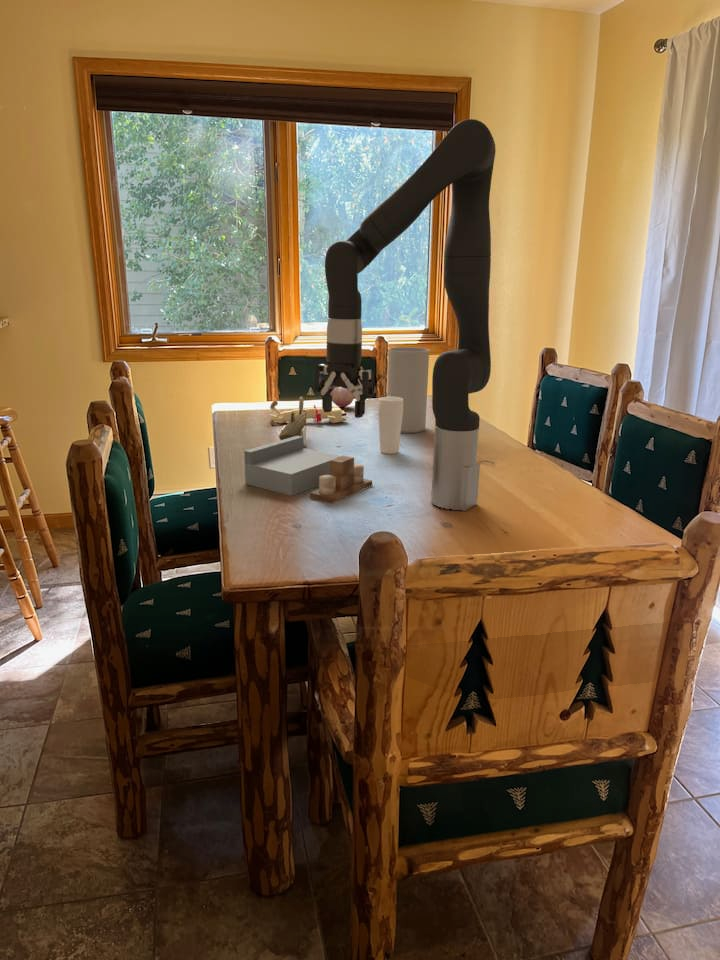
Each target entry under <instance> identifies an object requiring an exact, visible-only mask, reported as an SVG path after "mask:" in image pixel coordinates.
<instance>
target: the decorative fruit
mask: <svg viewBox="0 0 720 960" xmlns="http://www.w3.org/2000/svg"><path fill="white" fill-rule="evenodd" d="M330 395H332V404H333V403H334V405H336V406H337V407H339V408H340V407H344V408H345V407H348V406H349V405H351V404H352V403H353V401H354V399H355V397H354V395H353V393H351V392H350V391H349V389H348V388H343V387H335V388H334V390H333V391H332V393H331V394H330Z"/></svg>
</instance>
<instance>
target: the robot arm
mask: <svg viewBox="0 0 720 960" xmlns="http://www.w3.org/2000/svg"><path fill="white" fill-rule="evenodd" d="M496 150H497V149H496V143H495V138H494V136H493V135H492V132H491V130H490V128H488V125H486V124H485V123H483V122H482V121H480V120H478V119H474V118H470V119H469V118H468V119H464V120H461V121H459V122H458V123H456V124H455V125H453V126H452V128H451V129H450V130H449V131H448V132H447V134H446V135H444V137H443V138H442V140H441V141H440V142H439V143H438V145H437V146H436V147H435V149H434V150H433V151H432V152H431V153H430V155H429V156H428V157H427V158H426V159H425V160H424V161H423V163H422V164H421V165H420V166H419V167H418V168H417V169H416V170H415V172H413V173H412V174H411V176H409V177H408V178H407V179H406V180H405V181H404V182H403V183H402V184H401V185H400V186H399V187H398V188H397V189H395V190H394V191H393V192H392V193H391V194H390V195H389V196H387V198H385V199H384V200H383V201H382V202H381V203H380V204H379V205H378V206H376V208H374V209H373V210H372V211H371V212H370V213H369V214H368V215H367V216H366V217H364V219H363V220H362V222H361V223H360V226H359V228H358V229H357V230H356V231H355V232H353V234H352V235H351V236H349V237H348V238H347V239H346V240H338V241H335V242H333V243H331V245H329V247H328V249H327V250H326V252H325V259H324V271H325V272H324V273H325V280H326V288H327V293H328V303H327V304H328V305H327V306H328V308H327V310H328V311H327V313H328V315H327V317H328V318H327V326H326V362H327V364H326V363H321V364H320V363H319V364H317V365H315V371H314V372H315V373H314V391H315V392H318V393H319V394H321V408H323V409H324V412H331V411H332V408H333V402H332V395H330V394H331V393H332V391H333V390H334V388H335V387H343V388H348V389H349V391H350V392H351V393H353V395H354V399H355V402H354V418H356V419H361V418H362V417H364V415H365V413H366V400H368V399H372V398H373V397H374V371H373V370H372V369H367V370H362V368H361V362H362V353H363V352H362V351H363V346H362V345H363V343H362V342H363V326H362V325H363V324H362V311H363V310H362V306H363V305H362V304H363V303H362V295H361V292H360V291H359V283H358V282H359V281H358V277H359V275H358V274H360V273H361V272H363V271H364V270H365V269H366V268H367V267H368V266H369V265H370V264H371V263H372V262H373V261H374V260H375V258H376V257H378V255H379V254H380V253H381V252H382V250H384V249H385V248H386V247H388V246H389V245H391V243H392V242H394V241H396V239H397V238H398V237H400V236H401V235H402V234H403V233H404V232H405V231H406V230H408V229H409V227H410V226H411V225H413V224H414V223H415V221H416V220H418V218H419V217H420V215H421V214H422V213H423V212H424V211H425V210H426V209H427V207H428V206H429V205H430V204H431V202H432V201H433V200H435V198H436V197H437V196H438V195H440V194H441V193H442V192H443V191H444V190H445V189H447V188H448V187H449V186H451V195H452V196H451V199H452V201H451V210H450V212H451V213H450V217H449V222H448V227H447V231H446V232H447V233H446V236H445V237H446V238H445V243H444V251H443V253H444V254H443V284H444V290H445V292H446V295H447V297H448V300H449V303H450V304H451V307H452V310H453V313H454V315H455V318H456V321H457V328H458V329H457V330H458V331H457V332H458V339H457V340H458V342H457V349H455V350H447V351H445V352H444V351H443V352H442V353H441V354H440V355H438V357H437V358H436V359H435V362H434V365H433V368H432V382H431V383H432V385H431V387H432V388H431V389H432V391H431V393H432V394H431V401H432V403H431V404H432V406H431V407H432V412H433V416H434V419H435V421H434V426H435V427H434V439H433V440H434V441H433V457H432V458H433V459H432V474H431V475H432V476H431V492H430V493H431V494H430V495H431V496H430V497H431V498H430V503H431V502H432V503H433V504H434V505H436V506H438V507H437V508H439V507H441V508H440V509H443V508H445V509H444V510H449V509H452V510H451V511H465V512H466V511H468V510H469V509H470V508H472V507H474V506H476V505H478V496H479V483H480V470H481V463H480V462H479V461H478V458H477V457H478V445H479V430H480V415H479V413H478V412H476V411H473V410H471V409H470V407H469V405H470V404H469V395H470V394H473V393H478V392H481V391H482V390H483V389H485V387H486V386H487V385H488V383H489V380H490V378H491V371H492V369H491V367H492V361H491V343H490V329H489V328H490V327H489V322H490V321H489V320H490V319H489V318H490V313H489V312H490V283H491V265H492V264H491V263H492V262H491V260H492V252H491V251H492V250H491V249H492V248H491V247H492V245H491V244H492V236H491V235H492V234H491V218H490V197H491V196H490V195H491V194H490V193H491V187H492V178H493V171H494V164H495V158H496ZM327 375H328V379H327ZM360 380H361V381H360ZM432 503H431V504H432ZM433 504H432V505H433ZM434 505H433V506H434ZM436 506H435V507H436Z"/></svg>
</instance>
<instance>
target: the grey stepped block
mask: <svg viewBox="0 0 720 960" xmlns="http://www.w3.org/2000/svg"><path fill="white" fill-rule="evenodd" d="M341 456H342V455H338V454H333V453H326V452H322V451H318V450H313V449H309V448H308V449H307V448H305V449H304V448H303V437H302V436H294V437H291V438H287V439H284V440H277V441H274V442H271V443H267V444H263V445H261V446H257V447H254V448H253V447H252V448H249V449H246V450H244V478H245V479H244V480H245V485H249V486H253V487H256V488H259V489H264V490H267V491H270V492H275V493H279V494H284V495H287V496H291V497H292V496H295V495H298V494H300V493H302V492H305V491H308V490H309V489H313V488H315V487H319V477H320V476H322V475H330V460H332V459H335V458H338V457H341Z"/></svg>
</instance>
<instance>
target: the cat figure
mask: <svg viewBox="0 0 720 960" xmlns="http://www.w3.org/2000/svg"><path fill="white" fill-rule="evenodd" d="M278 405H279V404H278V401H277V400H273V401H272V402H271V403H270V407H269V409H270V410H272V411H273V412H275V413H276V415H275V414H270V416H269V417H270V423H271V426H274V425H275V423H278V424H285V423H288V422H289V421H290V419H291V414H292V412H294V416H295V415H296V414H297V413H298V412H299V408H297V409H291V410H286V411H282V412H281V411H280V410H279V409H278V408H277V407H276V406H278ZM303 410H305V413H307V414H306V420H308V419H312V420H314V421H315V420H316V425H317V424H318V425H319V423H320V422H322V421H323V420H325V419H326V420H327V419H328V420H329V422H330V423H332V424H336V423H341V422H346V421H347V419H349V417H348V416H347V413H346V411H345V410H342V408H340V407H339V406H337V407H332V411H331V412H324V409H323V408H322V407H318V408H317V407H316V405H315V404H314V405H313V407H310V408H309V407H308V408H303Z"/></svg>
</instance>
